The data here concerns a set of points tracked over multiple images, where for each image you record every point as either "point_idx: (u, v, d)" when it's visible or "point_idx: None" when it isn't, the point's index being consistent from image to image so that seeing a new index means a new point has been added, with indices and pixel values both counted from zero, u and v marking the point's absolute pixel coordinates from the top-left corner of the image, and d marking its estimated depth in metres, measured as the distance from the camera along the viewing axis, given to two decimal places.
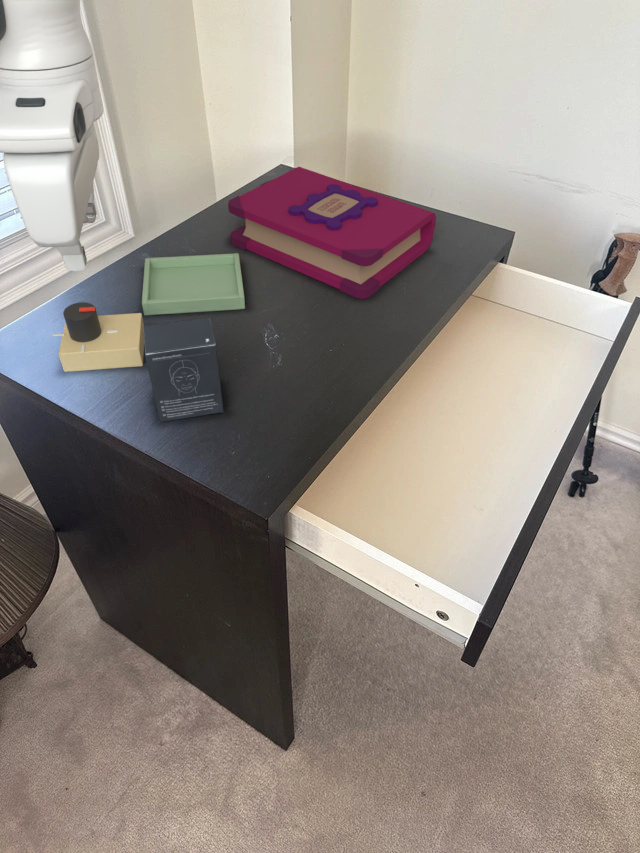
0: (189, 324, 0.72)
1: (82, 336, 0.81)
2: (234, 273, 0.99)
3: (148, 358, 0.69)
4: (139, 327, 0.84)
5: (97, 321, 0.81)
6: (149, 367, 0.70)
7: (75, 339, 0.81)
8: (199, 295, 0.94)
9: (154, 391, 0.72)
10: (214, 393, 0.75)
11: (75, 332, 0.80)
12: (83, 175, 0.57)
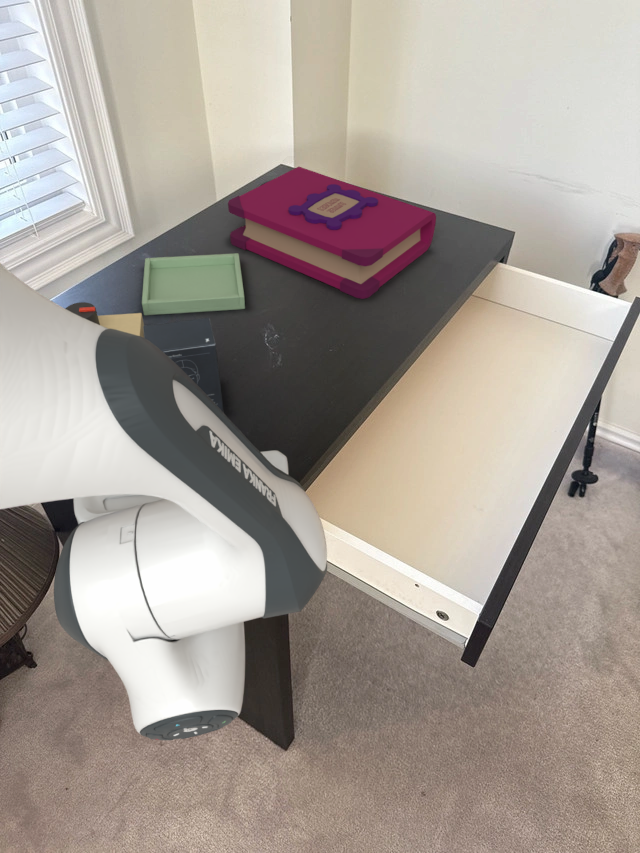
0: (189, 324, 0.72)
1: None
2: (234, 273, 0.99)
3: None
4: (139, 327, 0.84)
5: (97, 321, 0.81)
6: None
7: None
8: (199, 295, 0.94)
9: None
10: (214, 393, 0.75)
11: None
12: None
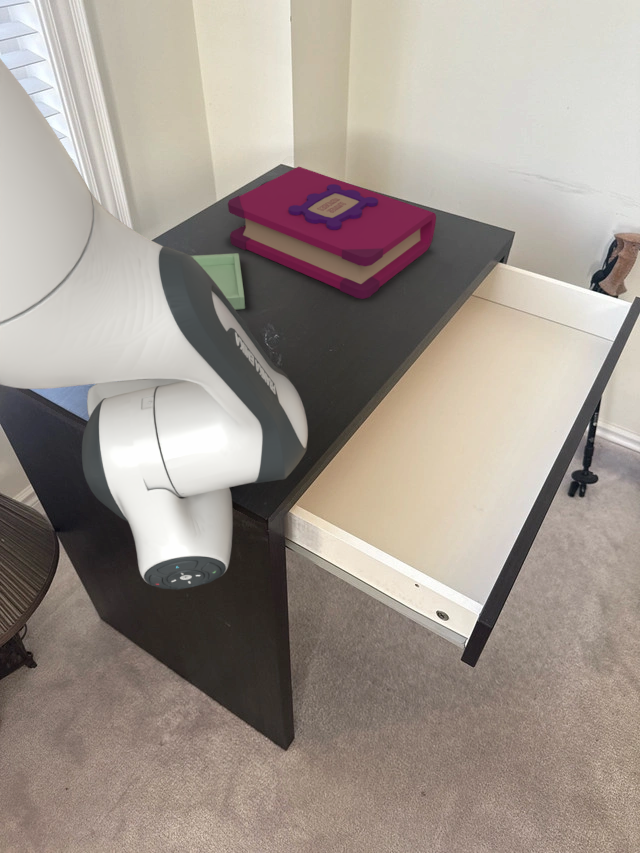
0: None
1: None
2: (234, 273, 0.99)
3: None
4: None
5: None
6: None
7: None
8: None
9: None
10: None
11: None
12: None
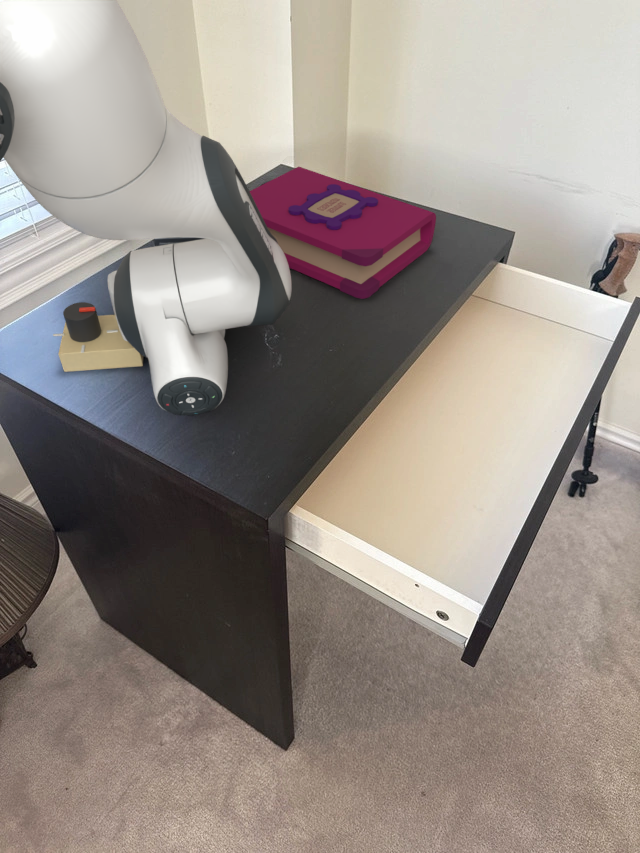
0: None
1: (82, 336, 0.81)
2: None
3: (156, 242, 0.86)
4: None
5: (97, 321, 0.81)
6: None
7: (75, 339, 0.81)
8: None
9: None
10: None
11: (75, 332, 0.80)
12: None
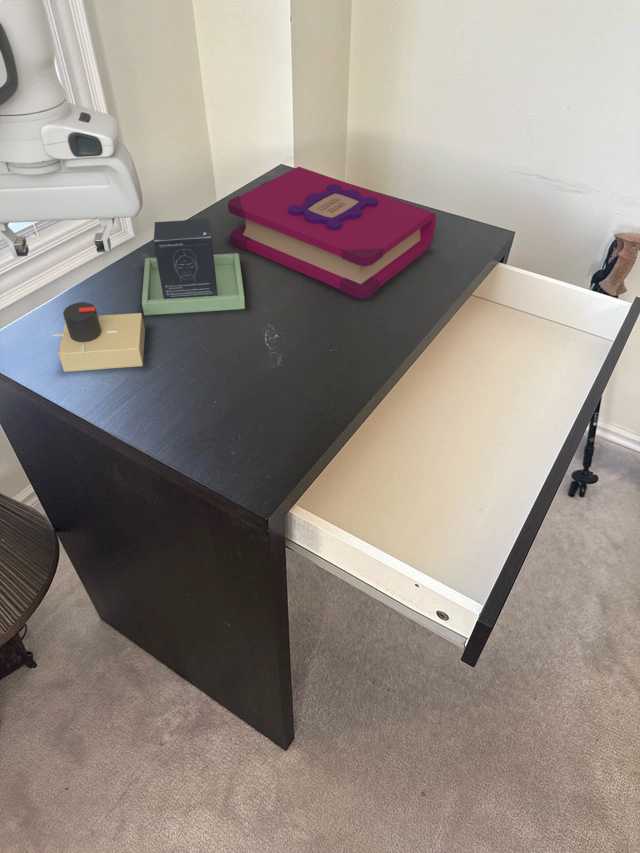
0: (192, 222, 0.88)
1: (82, 336, 0.81)
2: (234, 273, 0.99)
3: (156, 244, 0.85)
4: (139, 327, 0.84)
5: (97, 321, 0.81)
6: (156, 253, 0.86)
7: (75, 339, 0.81)
8: None
9: (160, 276, 0.89)
10: (210, 282, 0.91)
11: (75, 332, 0.80)
12: None
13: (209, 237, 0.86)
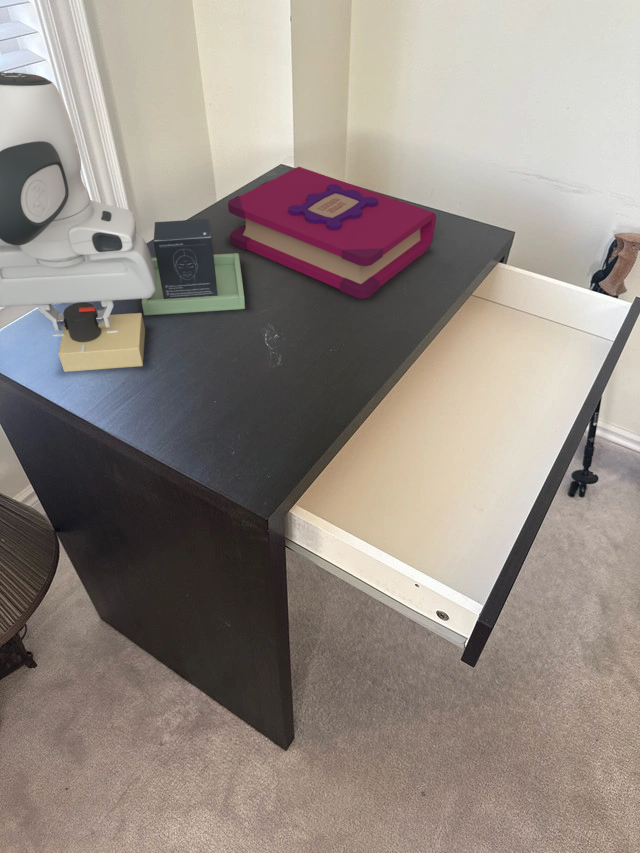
0: (192, 222, 0.88)
1: (82, 336, 0.81)
2: (234, 273, 0.99)
3: (156, 244, 0.85)
4: (139, 327, 0.84)
5: None
6: (156, 253, 0.86)
7: (75, 339, 0.81)
8: None
9: (160, 276, 0.89)
10: (210, 282, 0.91)
11: (75, 332, 0.80)
12: None
13: (209, 237, 0.86)
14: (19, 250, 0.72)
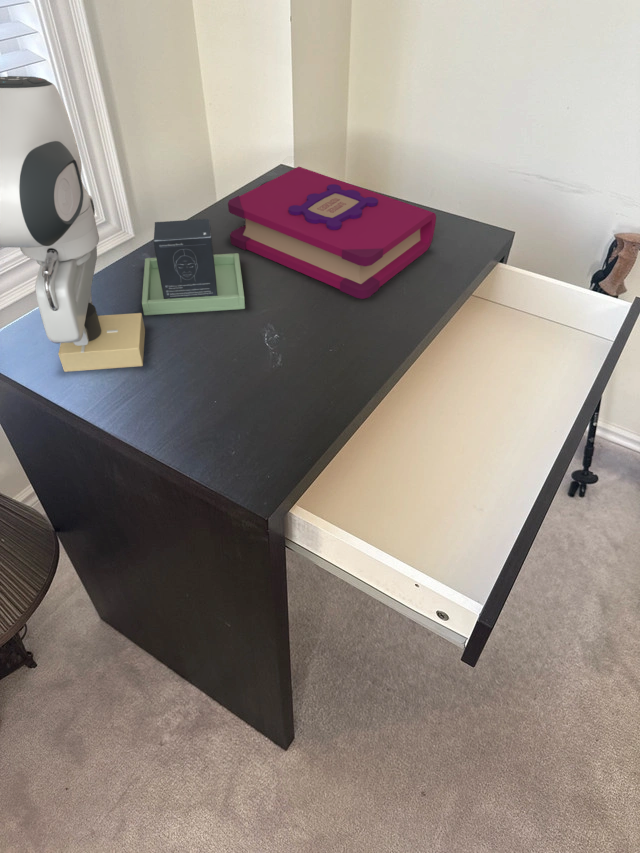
0: (192, 222, 0.88)
1: (99, 325, 0.83)
2: (234, 273, 0.99)
3: (156, 244, 0.85)
4: (139, 327, 0.84)
5: None
6: (156, 253, 0.86)
7: (98, 334, 0.82)
8: None
9: (160, 276, 0.89)
10: (210, 282, 0.91)
11: (97, 325, 0.82)
12: None
13: (209, 237, 0.86)
14: (69, 262, 0.71)
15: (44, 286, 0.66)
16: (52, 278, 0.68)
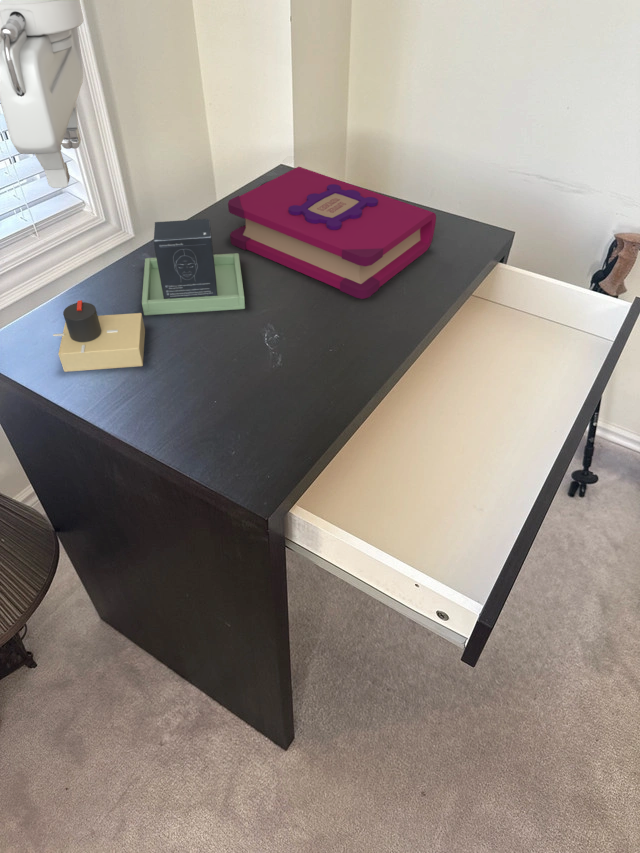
0: (192, 222, 0.88)
1: (99, 325, 0.83)
2: (234, 273, 0.99)
3: (156, 244, 0.85)
4: (139, 327, 0.84)
5: None
6: (156, 253, 0.86)
7: (98, 334, 0.82)
8: None
9: (160, 276, 0.89)
10: (210, 282, 0.91)
11: (97, 325, 0.82)
12: None
13: (209, 237, 0.86)
14: (41, 38, 0.52)
15: (3, 50, 0.47)
16: (16, 44, 0.48)
